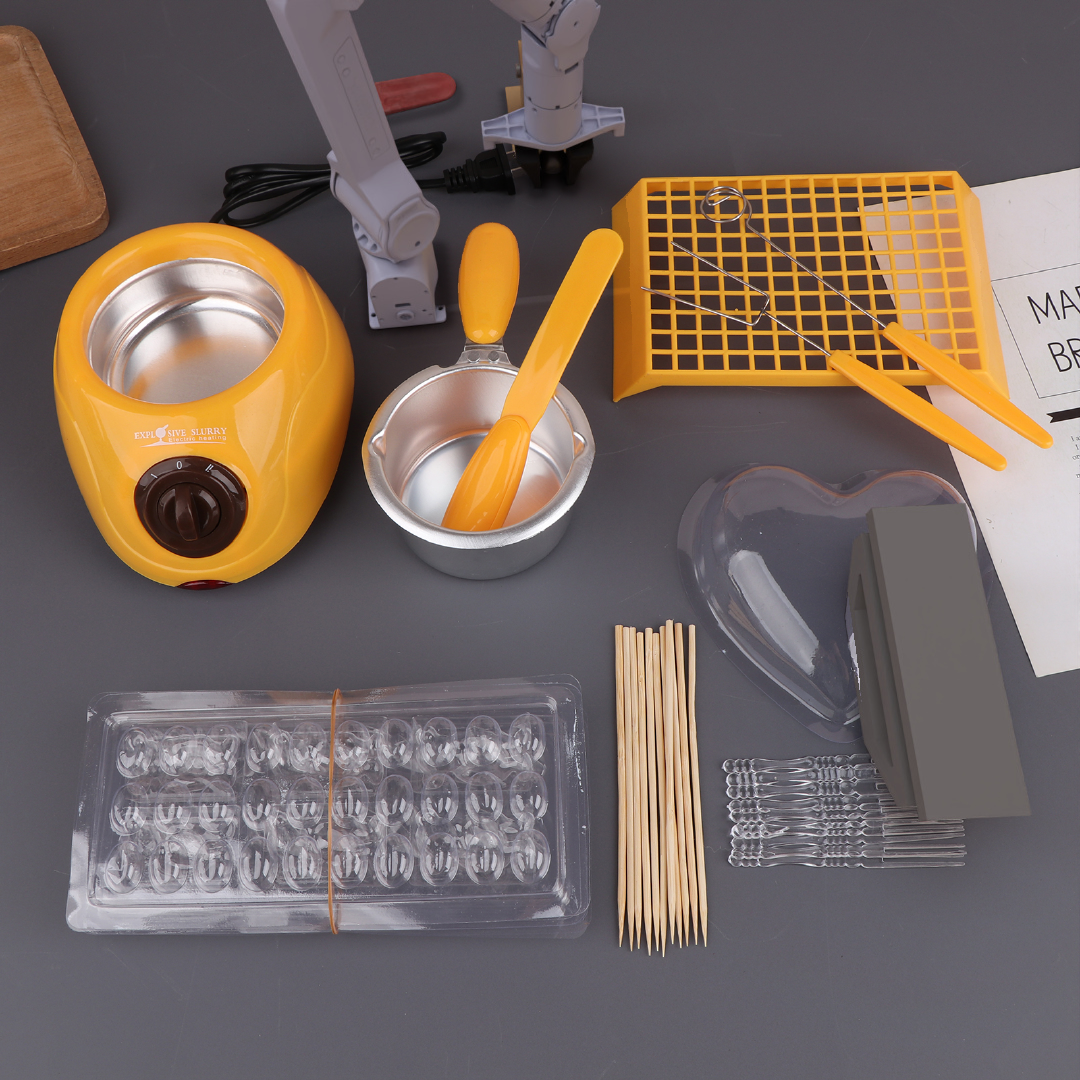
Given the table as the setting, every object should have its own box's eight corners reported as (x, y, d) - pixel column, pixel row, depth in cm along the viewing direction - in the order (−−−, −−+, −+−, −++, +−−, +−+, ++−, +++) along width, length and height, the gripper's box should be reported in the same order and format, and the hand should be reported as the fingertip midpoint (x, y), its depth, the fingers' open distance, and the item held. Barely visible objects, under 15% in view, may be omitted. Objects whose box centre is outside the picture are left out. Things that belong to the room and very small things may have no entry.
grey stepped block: (833, 548, 85) (871, 507, 74) (915, 544, 85) (965, 503, 74) (876, 823, 77) (927, 820, 66) (967, 818, 77) (1031, 815, 66)
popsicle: (322, 92, 101) (450, 66, 102) (325, 104, 103) (452, 78, 104) (329, 122, 99) (459, 95, 101) (332, 134, 101) (461, 107, 102)
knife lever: (566, 175, 98) (568, 170, 95) (539, 177, 97) (540, 172, 95) (556, 56, 95) (557, 47, 92) (528, 59, 95) (529, 50, 92)
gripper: (621, 47, 87) (613, 149, 100) (474, 62, 87) (485, 162, 100) (631, 104, 85) (621, 200, 98) (481, 119, 85) (490, 213, 98)
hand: (553, 184), depth 99 cm, fingers closed on knife lever, 3 cm apart
